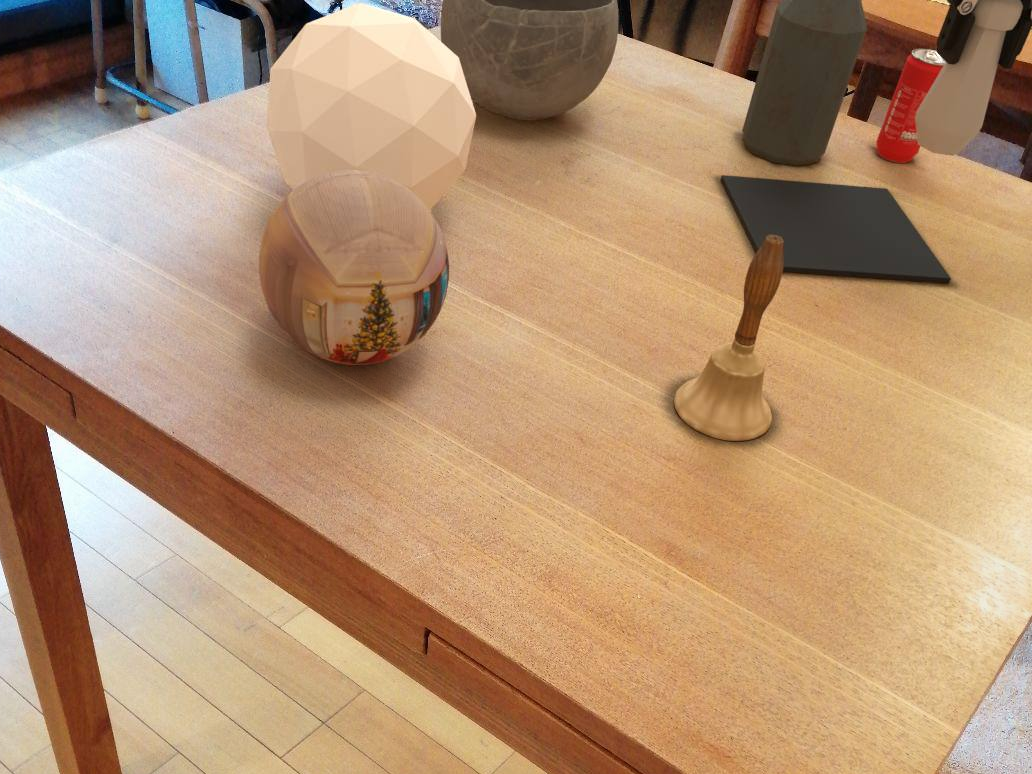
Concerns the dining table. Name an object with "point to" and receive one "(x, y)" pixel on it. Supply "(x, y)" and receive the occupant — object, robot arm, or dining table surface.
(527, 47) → the bowl
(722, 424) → the hand bell
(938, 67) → the beverage can
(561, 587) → the dining table surface
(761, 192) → the mat
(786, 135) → the bottle
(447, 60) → the ball
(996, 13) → the salt shaker
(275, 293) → the ornament
